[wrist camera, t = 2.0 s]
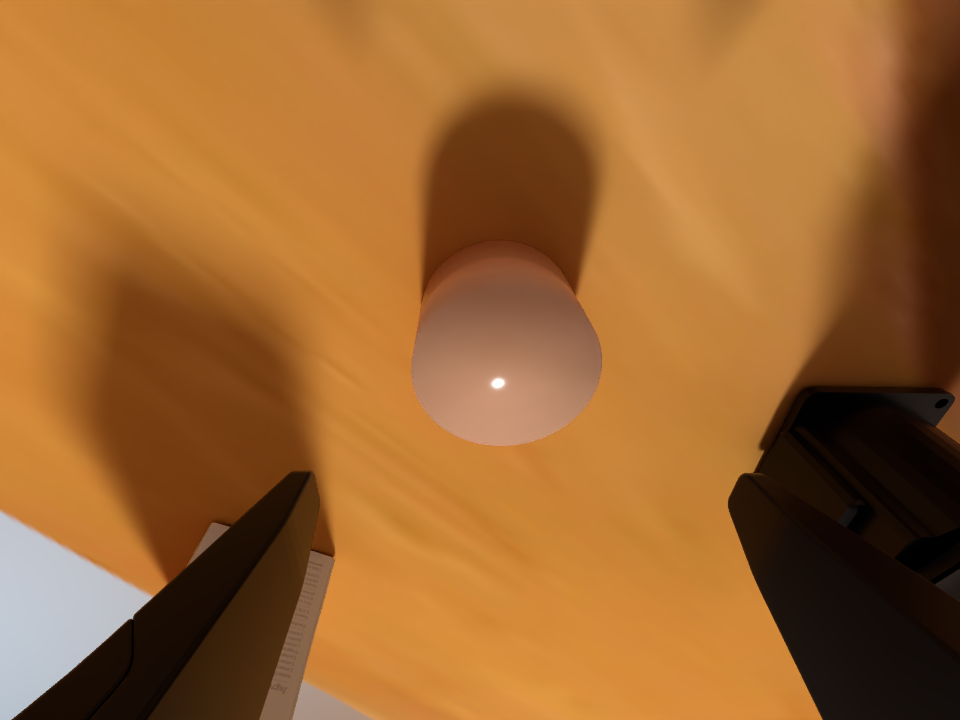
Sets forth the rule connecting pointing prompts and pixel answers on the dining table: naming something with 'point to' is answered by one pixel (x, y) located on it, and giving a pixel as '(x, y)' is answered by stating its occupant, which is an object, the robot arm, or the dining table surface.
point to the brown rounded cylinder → (503, 346)
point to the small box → (300, 631)
